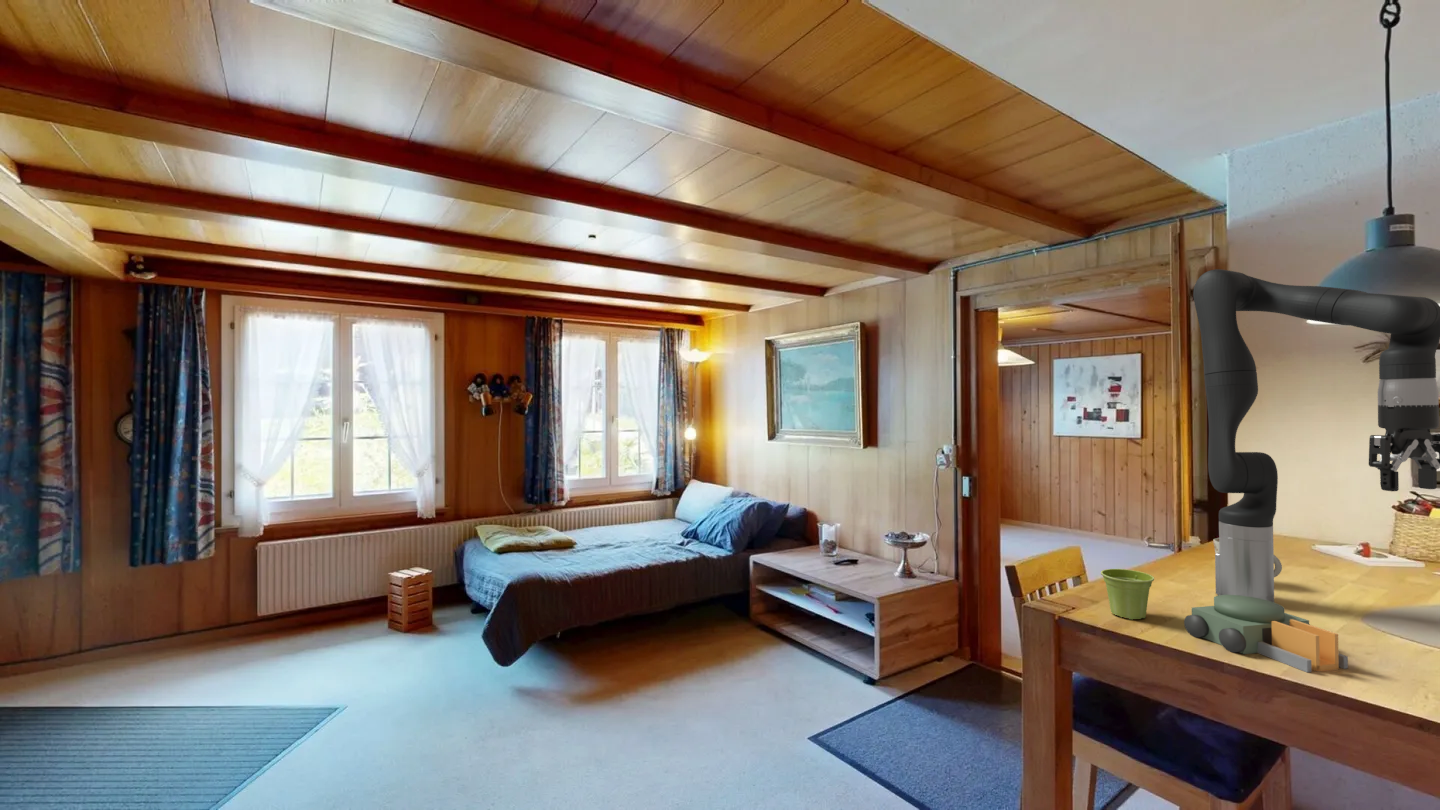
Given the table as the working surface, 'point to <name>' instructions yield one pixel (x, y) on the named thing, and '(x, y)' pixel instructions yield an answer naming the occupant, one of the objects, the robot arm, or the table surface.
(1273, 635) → the orange u-channel
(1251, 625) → the toy forklift
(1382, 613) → the table surface
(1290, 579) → the table surface
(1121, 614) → the plant pot
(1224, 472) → the robot arm
